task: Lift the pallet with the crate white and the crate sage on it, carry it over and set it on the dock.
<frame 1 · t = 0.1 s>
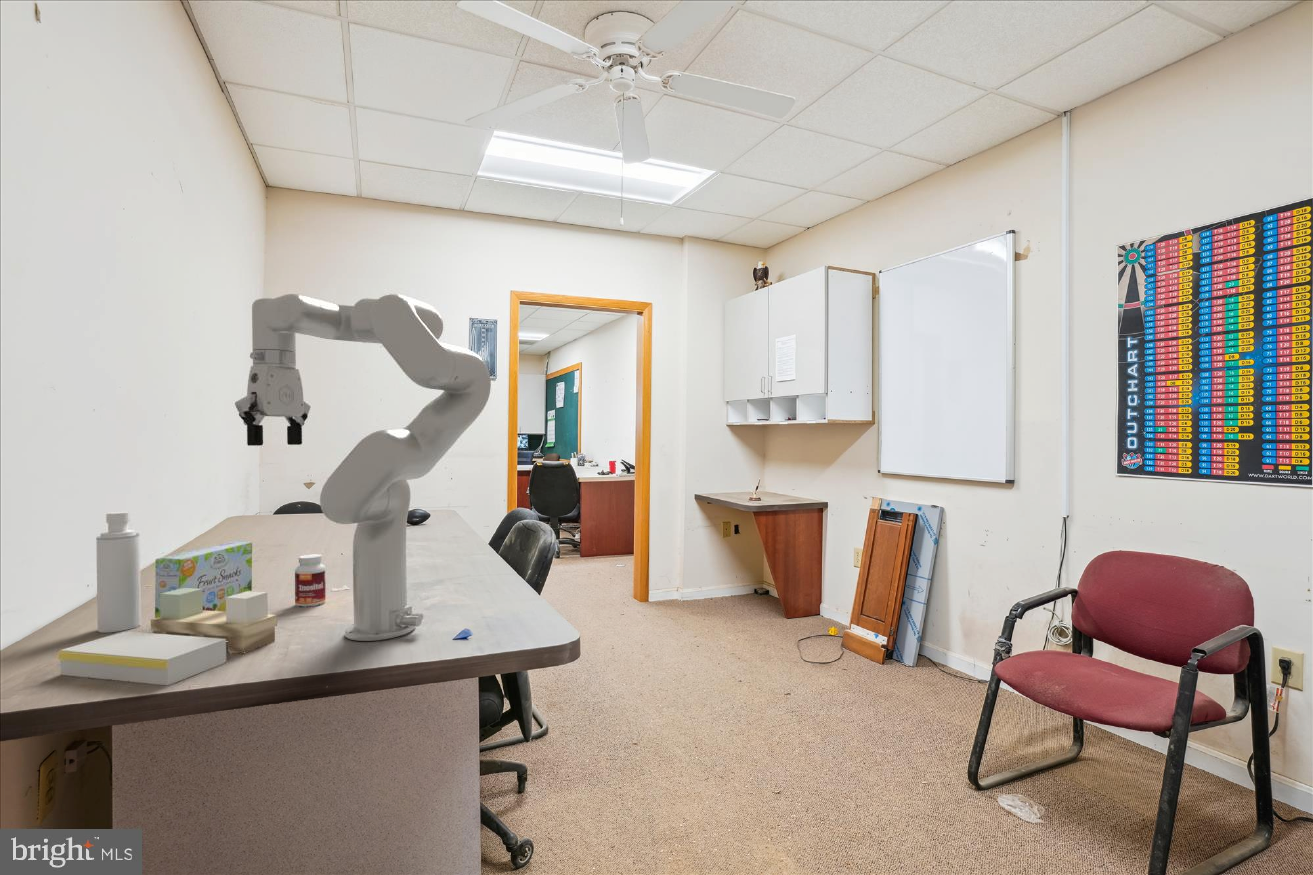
hand: (275, 445, 128), 37 cm above the table, tool pointing down, fingers open, 9 cm apart
pill bottle: (310, 604, 144), on the table
crate white: (247, 619, 115), point 5 cm above the table, touching pallet
crate sage: (182, 615, 118), point 5 cm above the table, touching pallet
snack box: (207, 621, 132), on the table
dock: (145, 668, 104), on the table
white tall bottle: (119, 628, 128), on the table
pallet: (214, 644, 116), on the table, touching crate sage, crate white
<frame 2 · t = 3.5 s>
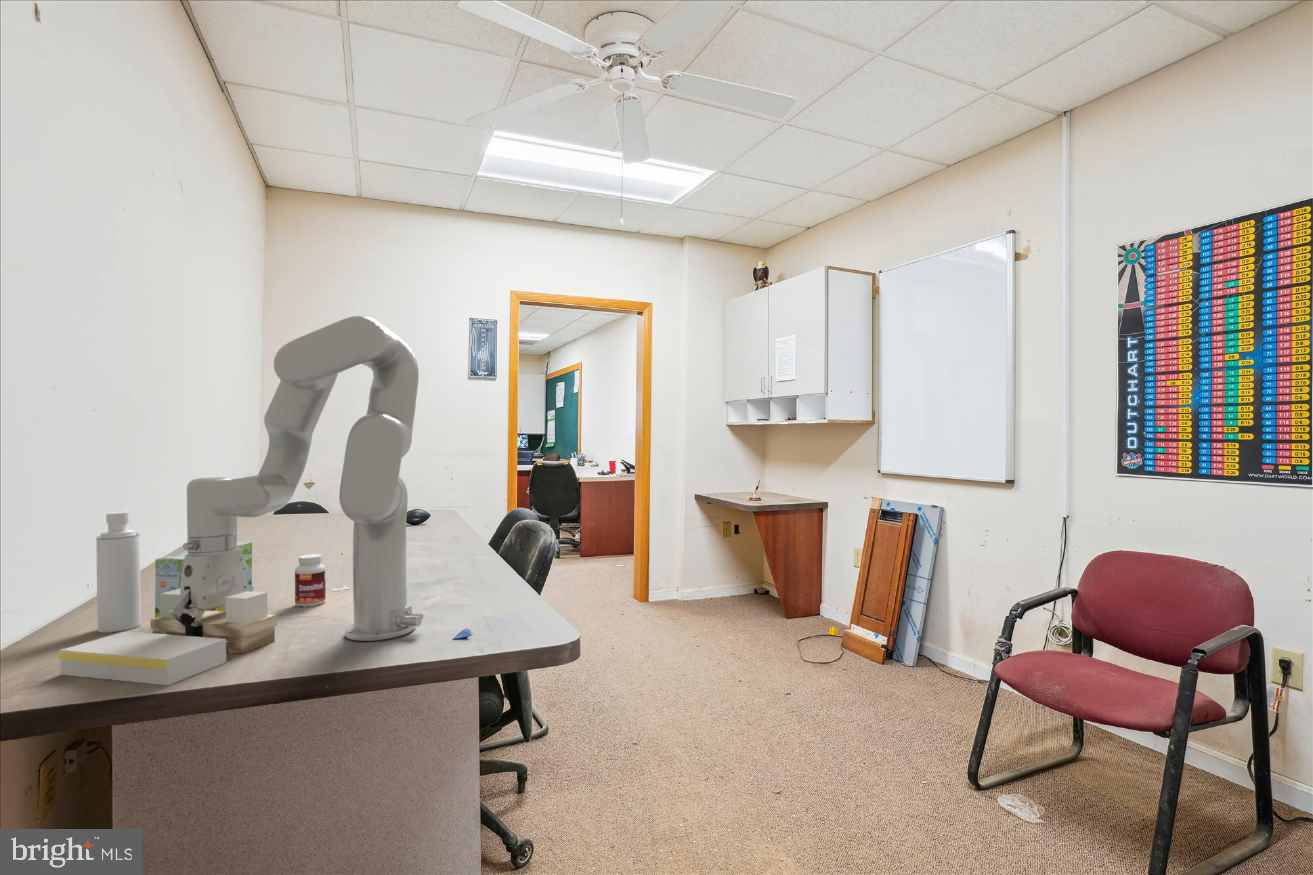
hand: (214, 639, 116), 1 cm above the table, tool pointing down, fingers closed on pallet, 7 cm apart
pallet: (214, 644, 116), on the table, touching crate sage, crate white, gripper
everything else where it was.
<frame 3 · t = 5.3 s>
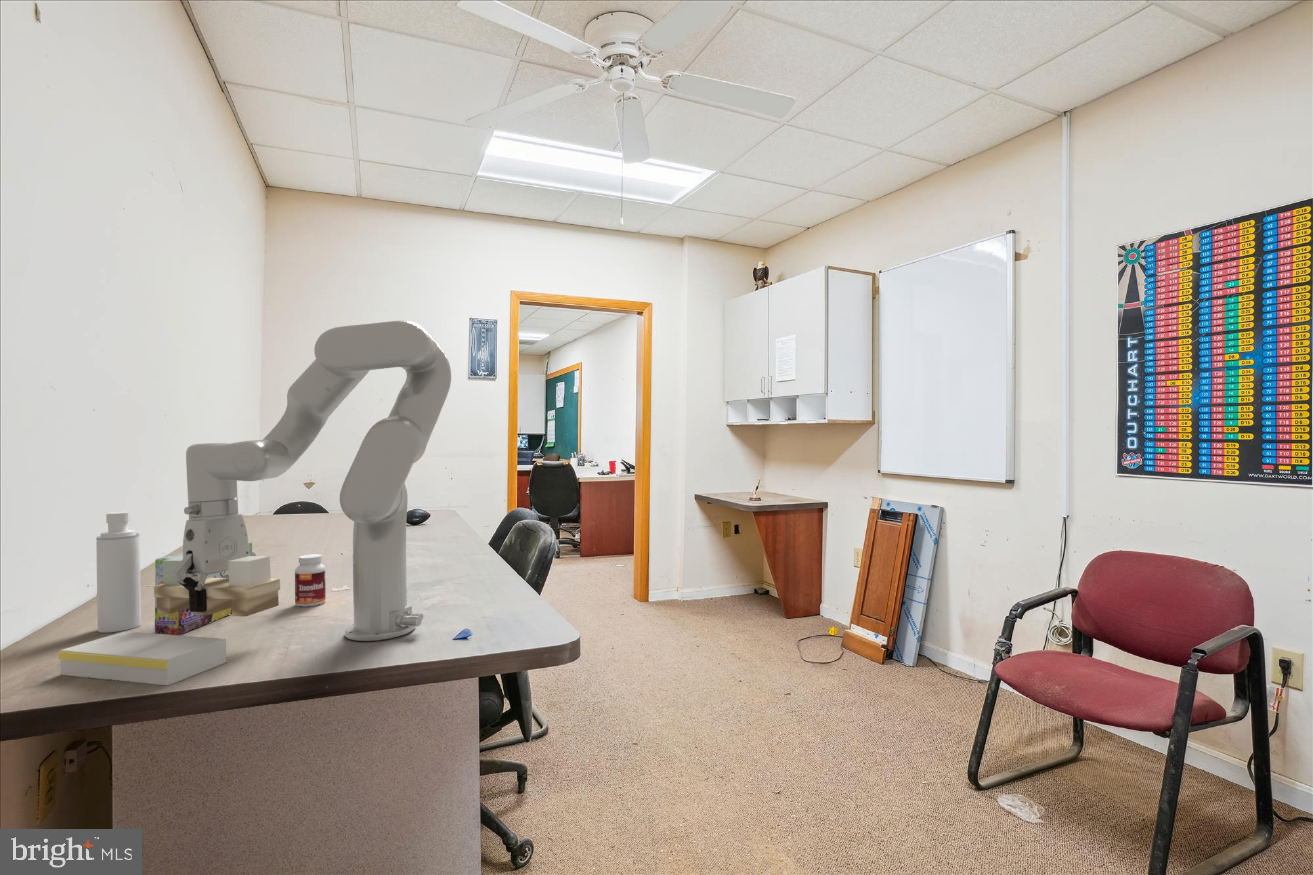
hand: (218, 604, 116), 7 cm above the table, tool pointing down, fingers closed on pallet, 7 cm apart
crate white: (250, 583, 115), point 12 cm above the table, touching pallet
crate sage: (185, 581, 118), point 11 cm above the table, touching pallet
pallet: (218, 609, 116), point 6 cm above the table, touching crate sage, crate white, gripper
everything else where it was.
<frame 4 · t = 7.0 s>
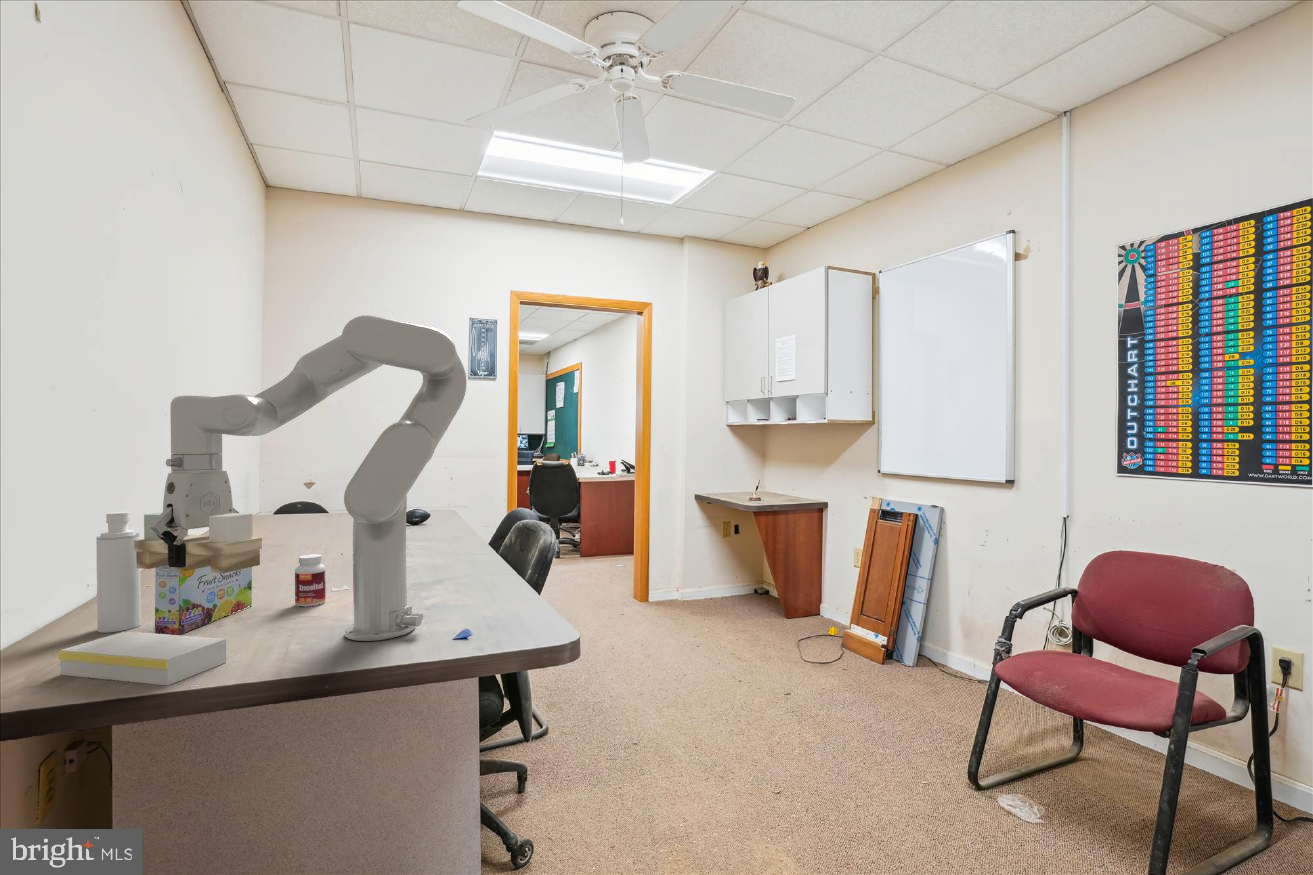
hand: (198, 561, 114), 16 cm above the table, tool pointing down, fingers closed on pallet, 7 cm apart
crate white: (231, 540, 112), point 20 cm above the table, touching pallet
crate sage: (166, 537, 116), point 20 cm above the table, touching pallet
pallet: (198, 566, 114), point 15 cm above the table, touching crate sage, crate white, gripper
everything else where it was.
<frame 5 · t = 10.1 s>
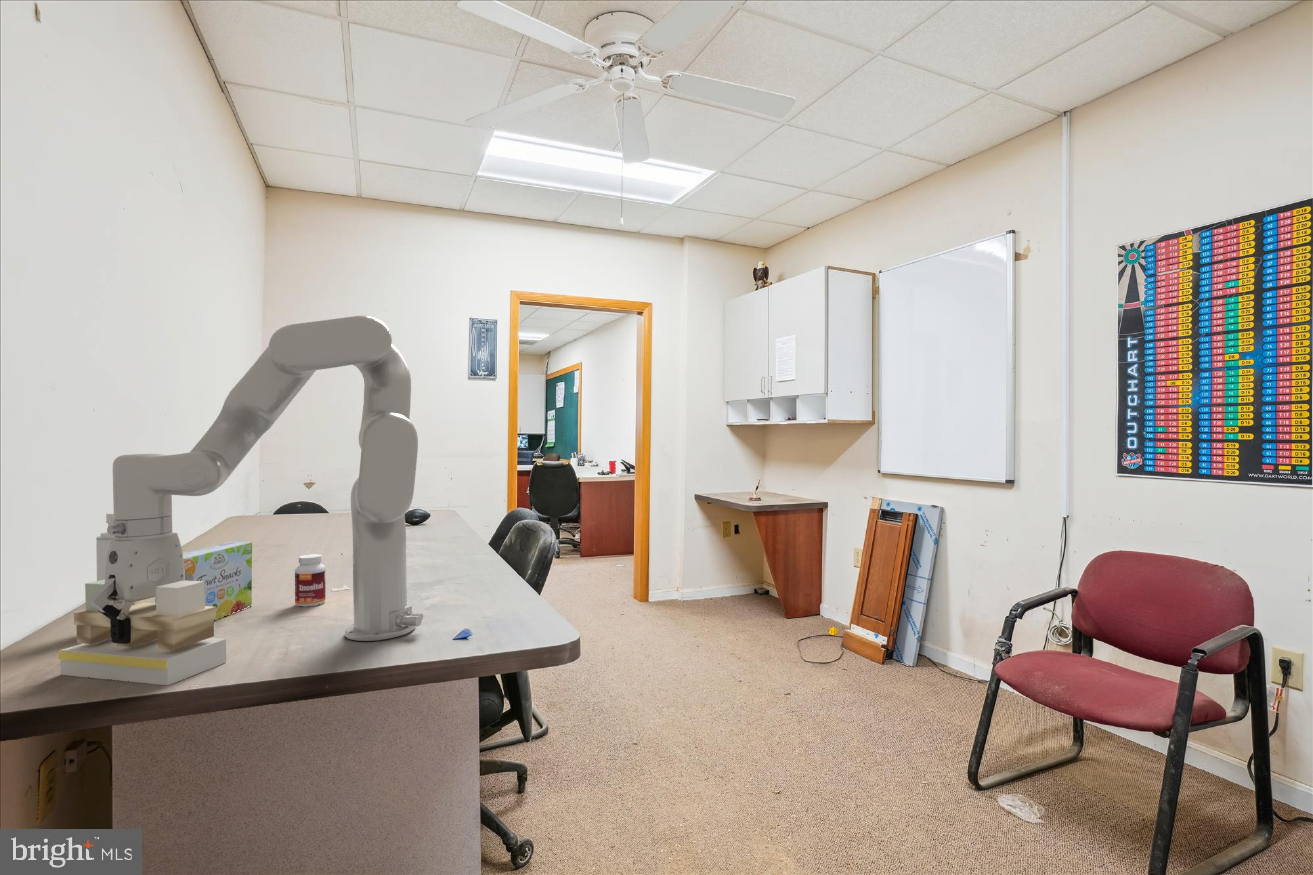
hand: (146, 634, 104), 6 cm above the table, tool pointing down, fingers closed on pallet, 7 cm apart
crate white: (181, 611, 103), point 10 cm above the table, touching pallet
crate sage: (110, 607, 106), point 10 cm above the table, touching pallet
pallet: (146, 639, 104), point 5 cm above the table, touching crate sage, crate white, gripper
everything else where it was.
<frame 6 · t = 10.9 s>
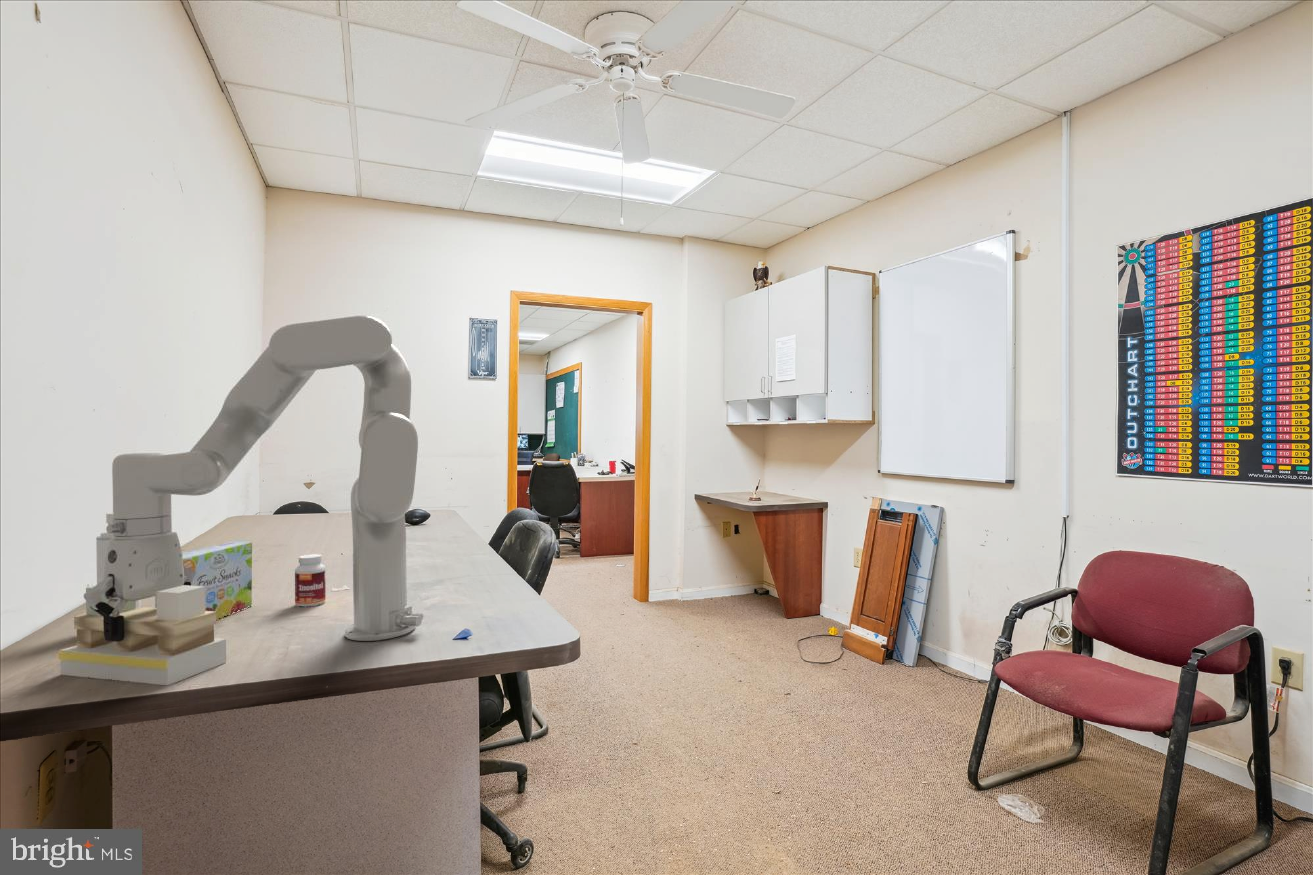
hand: (144, 631, 104), 6 cm above the table, tool pointing down, fingers open, 9 cm apart
pallet: (146, 644, 104), point 4 cm above the table, touching crate sage, crate white, dock
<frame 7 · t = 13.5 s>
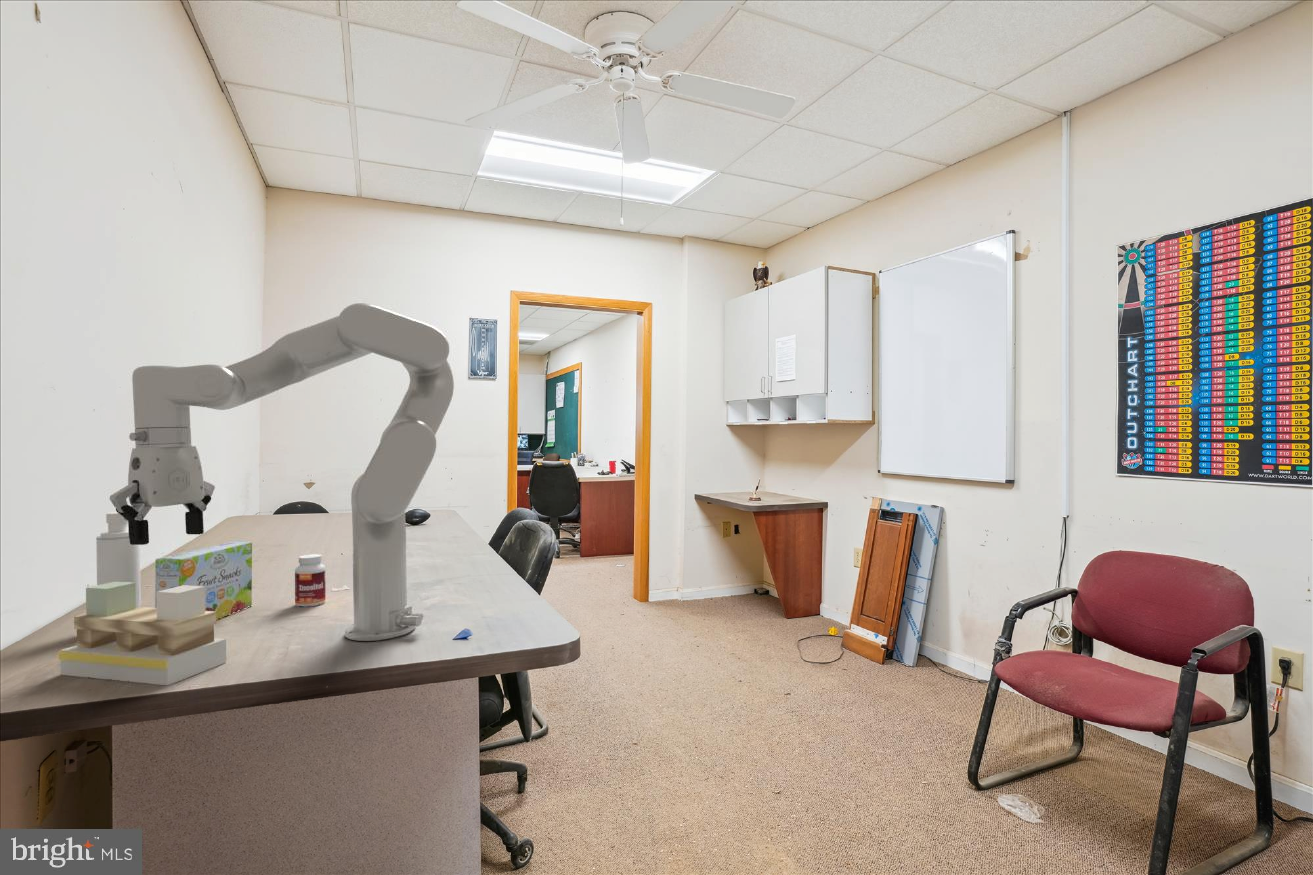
hand: (168, 539, 107), 21 cm above the table, tool pointing down, fingers open, 9 cm apart
nothing on the table moved.
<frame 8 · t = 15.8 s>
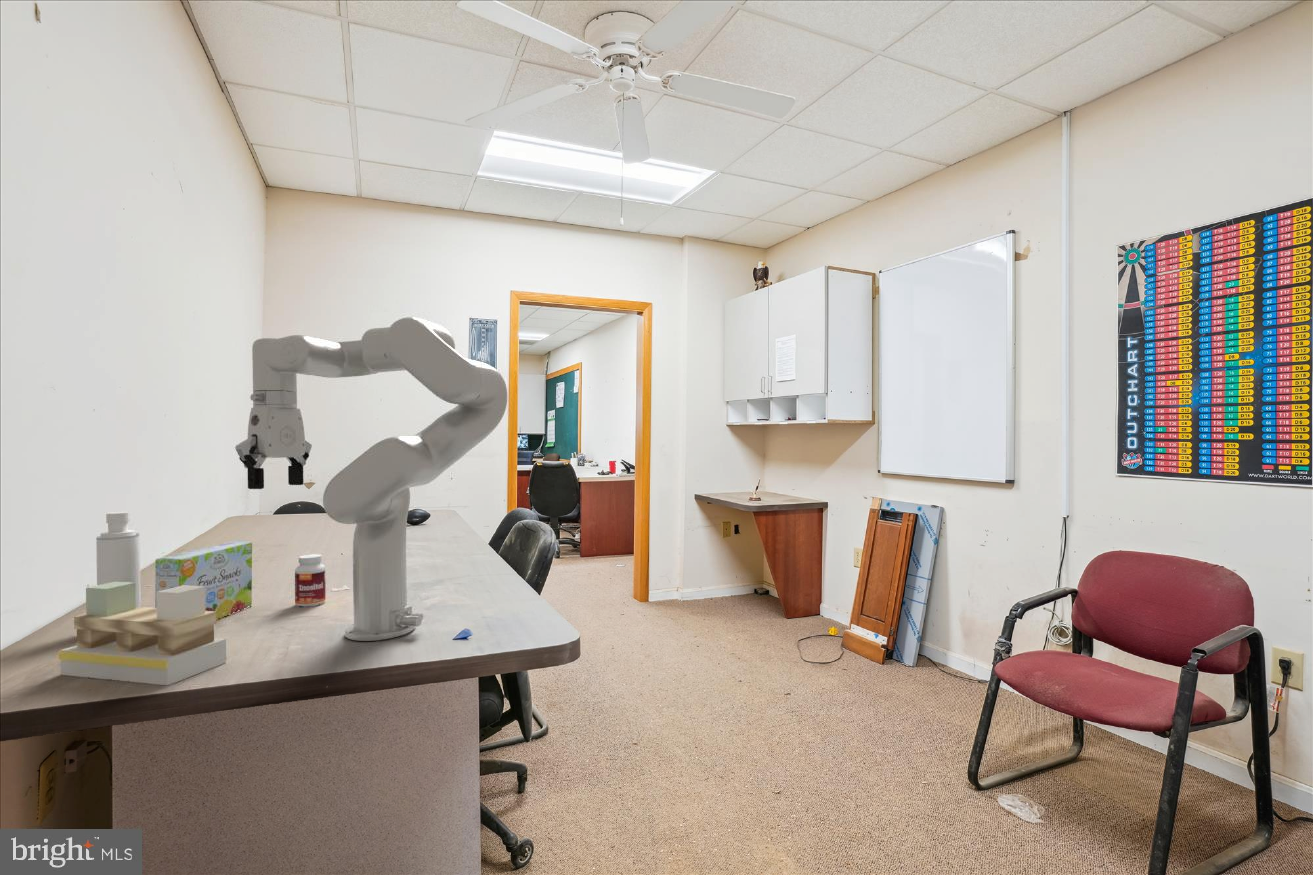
hand: (276, 486, 126), 28 cm above the table, tool pointing down, fingers open, 9 cm apart
nothing on the table moved.
at the end: pallet 0.1 cm off-centre on the dock, point 4.0 cm above the dock's base; crate white point 9.0 cm above the table; crate sage point 9.0 cm above the table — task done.
